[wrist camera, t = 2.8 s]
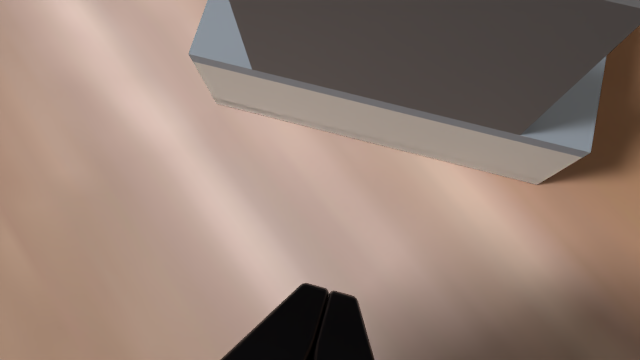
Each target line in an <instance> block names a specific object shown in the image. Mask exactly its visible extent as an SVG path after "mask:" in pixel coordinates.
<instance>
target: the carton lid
mask: <svg viewBox="0 0 640 360" xmlns="http://www.w3.org/2000/svg"><path fill="white" fill-rule="evenodd" d="M639 25H640V0H208V1H207V4H206V7H205V9H204V12H203V15H202V18H201V21H200V23H199V26H198V29H197V32H196V35H195V37H194V40H193V43H192V46H191V48H190V51H189V56H190V57H191V59H192V61H193V62H197V63H201V64H205V65H209V66H213V67H217V68H221V69H225V70H230V71H234V72H238V73H242V74H246V75H250V76H254V77H258V78H262V79H266V80H270V81H274V82H278V83H282V84H286V85H290V86H294V87H298V88H303V89H307V90H311V91H315V92H319V93H323V94H327V95H331V96H335V97H339V98H343V99H347V100H351V101H355V102H359V103H363V104H367V105H372V106H376V107H380V108H384V109H388V110H392V111H396V112H400V113H404V114H408V115H412V116H416V117H420V118H424V119H428V120H432V121H436V122H440V123H445V124H449V125H453V126H457V127H461V128H465V129H469V130H473V131H477V132H481V133H485V134H489V135H493V136H497V137H501V138H505V139H509V140H513V141H518V142H522V143H526V144H530V145H534V146H538V147H542V148H546V149H550V150H554V151H558V152H562V153H566V154H570V155H574V156H578V157H582V158H583V157H584V156H586V155H588V154H589V153H591V147H592V141H593V135H594V129H595V123H596V117H597V110H598V104H599V98H600V92H601V86H602V80H603V74H604V68H605V61H606V55H608V54H609V53H610V52H611V51H612V50H613V49H614V48H615V47H616V46H617V45H618V44H619V43H621V42H622V41H623V40H624V39H625V38H626V37H627V36H628V35H629V34H630V33H631V32H632V31H634V30H635V29H636V28H637V27H638V26H639Z"/></svg>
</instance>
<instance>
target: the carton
mask: <svg viewBox="0 0 640 360" xmlns="http://www.w3.org/2000/svg"><path fill="white" fill-rule="evenodd" d="M193 63H194V65H195V66H196V68H197V70H198V72H199V74H200V75H201V77H202V79H203V81H204V82H205V84H206V86H207V88H208V89H209V91H210V93H211V95H212V97H213V98H214V100H215V102H216V104H220V105H224V106H228V107H231V108H235V109H239V110H243V111H247V112H251V113H255V114H259V115H263V116H267V117H271V118H275V119H279V120H283V121H287V122H291V123H295V124H299V125H303V126H307V127H311V128H315V129H319V130H323V131H327V132H330V133H334V134H338V135H342V136H346V137H350V138H354V139H358V140H362V141H366V142H370V143H374V144H378V145H382V146H386V147H390V148H394V149H398V150H402V151H406V152H410V153H414V154H418V155H422V156H426V157H429V158H433V159H437V160H441V161H445V162H449V163H453V164H457V165H461V166H465V167H469V168H473V169H477V170H481V171H485V172H489V173H493V174H497V175H501V176H505V177H509V178H513V179H517V180H521V181H525V182H528V183H532V184H536V185H538V184H539V183H541V182H543V181H544V180H546V179H548V178H549V177H551V176H553V175H554V174H556V173H557V172H559V171H561V170H562V169H564V168H566V167H567V166H569V165H571V164H572V163H574V162H576V161H577V160H579V159H581V158H582V157H578V156H574V155H570V154H566V153H562V152H558V151H554V150H550V149H546V148H542V147H538V146H534V145H530V144H526V143H522V142H518V141H513V140H509V139H505V138H501V137H497V136H493V135H489V134H485V133H481V132H477V131H473V130H469V129H465V128H461V127H457V126H453V125H449V124H445V123H440V122H436V121H432V120H428V119H424V118H420V117H416V116H412V115H408V114H404V113H400V112H396V111H392V110H388V109H384V108H380V107H376V106H372V105H367V104H363V103H359V102H355V101H351V100H347V99H343V98H339V97H335V96H331V95H327V94H323V93H319V92H315V91H311V90H307V89H303V88H298V87H294V86H290V85H286V84H282V83H278V82H274V81H270V80H266V79H262V78H258V77H254V76H250V75H246V74H242V73H238V72H234V71H230V70H225V69H221V68H217V67H213V66H209V65H205V64H201V63H197V62H193Z"/></svg>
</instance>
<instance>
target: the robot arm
mask: <svg viewBox="0 0 640 360" xmlns="http://www.w3.org/2000/svg"><path fill="white" fill-rule="evenodd" d="M328 295H329V296H328ZM221 360H374V356H373V353H372V349H371V346H370V342H369V339H368V335H367V332H366V328H365V325H364V321H363V318H362V314H361V311H360V307H359V303H358V301H357V299H356V298H355V297H354V296H352V295H348V294H344V293H341V292H337V291H331V292H330V293H329V292H328V290H327V289H326V288H323V287H319V286H316V285H312V284H308V283H304V284H302V285H300V286H299V287H298V288H297V289H296V290H295V291H294V292H293V293H292V294H290V295H289V296H288V297H287V298H286V299H285V300H284V301H283V302H282V303H281V304H280V305H279V306H278V307H277V308H275V309H274V310H273V311H272V312H271V313H270V314H269V315H268V316H267V317H266V318H265V319H264V320H263V321H262V322H260V323H259V324H258V325H257V326H256V327H255V328H254V329H253V330H252V331H251V332H250V333H249V334H248V335H247V336H245V337H244V338H243V339H242V340H241V341H240V342H239V343H238V344H237V345H236V346H235V347H234V348H233V349H232V350H230V351H229V352H228V353H227V354H226V355H225V356H224V357H223V358H222V359H221Z"/></svg>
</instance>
